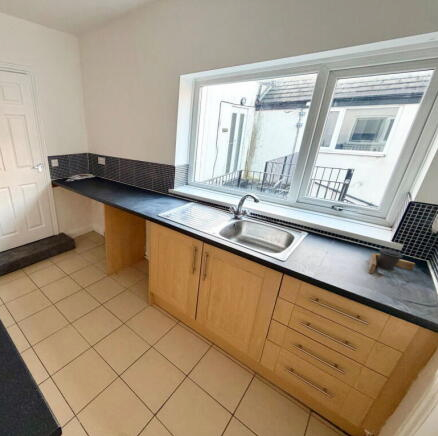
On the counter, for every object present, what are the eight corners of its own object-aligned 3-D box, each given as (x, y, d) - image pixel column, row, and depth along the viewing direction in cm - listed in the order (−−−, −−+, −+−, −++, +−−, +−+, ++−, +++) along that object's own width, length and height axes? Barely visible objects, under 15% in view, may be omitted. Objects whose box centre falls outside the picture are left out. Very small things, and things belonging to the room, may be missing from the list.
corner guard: (410, 271, 116) (414, 262, 114) (415, 285, 106) (419, 276, 104) (368, 260, 125) (371, 252, 124) (368, 272, 115) (372, 263, 113)
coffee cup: (397, 270, 117) (406, 252, 113) (392, 276, 113) (401, 257, 109) (375, 262, 123) (383, 245, 119) (370, 267, 119) (377, 250, 115)
